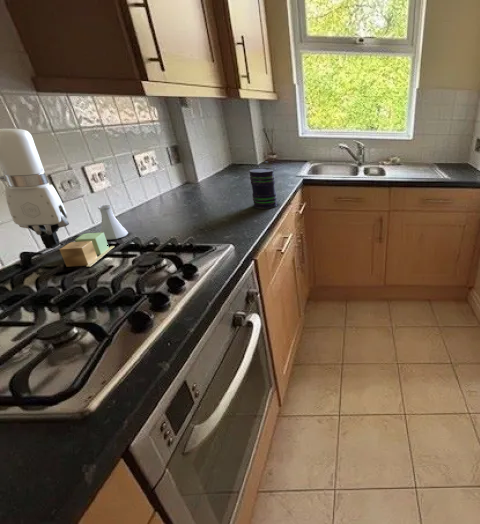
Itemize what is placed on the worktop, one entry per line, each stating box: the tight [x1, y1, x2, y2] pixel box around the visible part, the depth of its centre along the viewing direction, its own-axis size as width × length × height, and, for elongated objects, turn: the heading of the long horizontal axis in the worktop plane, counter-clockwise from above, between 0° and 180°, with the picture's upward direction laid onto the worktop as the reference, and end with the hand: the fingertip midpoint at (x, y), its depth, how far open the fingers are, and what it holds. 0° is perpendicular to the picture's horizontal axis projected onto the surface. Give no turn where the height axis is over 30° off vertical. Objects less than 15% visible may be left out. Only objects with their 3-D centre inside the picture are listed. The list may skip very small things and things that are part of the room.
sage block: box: [74, 232, 110, 256], centre depth 95 cm, size 5×5×5 cm
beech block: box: [58, 241, 98, 268], centre depth 88 cm, size 5×5×5 cm
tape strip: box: [85, 245, 115, 268], centre depth 93 cm, size 1×14×1 cm, turn 13°
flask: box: [97, 204, 129, 240], centre depth 105 cm, size 7×7×10 cm
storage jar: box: [249, 161, 278, 210], centre depth 139 cm, size 10×10×18 cm
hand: (53, 246), depth 92 cm, fingers closed
